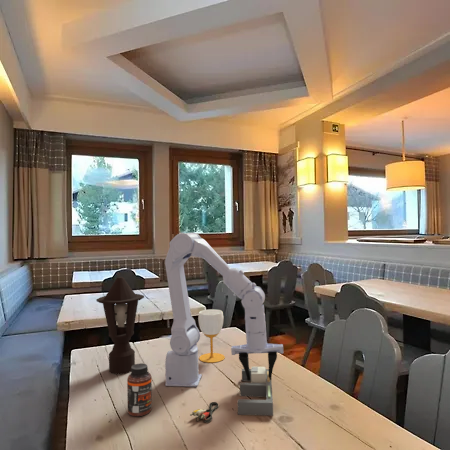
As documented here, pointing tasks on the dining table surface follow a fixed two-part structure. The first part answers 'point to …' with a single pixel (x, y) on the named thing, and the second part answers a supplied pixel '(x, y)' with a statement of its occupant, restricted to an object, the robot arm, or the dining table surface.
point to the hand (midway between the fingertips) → (259, 378)
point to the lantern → (120, 324)
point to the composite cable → (205, 412)
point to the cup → (211, 332)
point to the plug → (258, 375)
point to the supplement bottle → (139, 390)
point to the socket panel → (256, 391)
